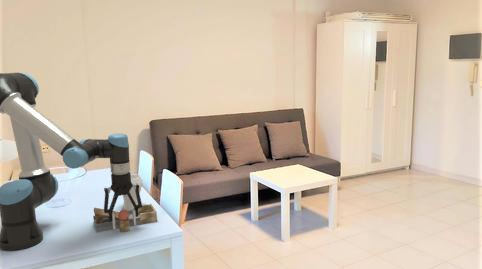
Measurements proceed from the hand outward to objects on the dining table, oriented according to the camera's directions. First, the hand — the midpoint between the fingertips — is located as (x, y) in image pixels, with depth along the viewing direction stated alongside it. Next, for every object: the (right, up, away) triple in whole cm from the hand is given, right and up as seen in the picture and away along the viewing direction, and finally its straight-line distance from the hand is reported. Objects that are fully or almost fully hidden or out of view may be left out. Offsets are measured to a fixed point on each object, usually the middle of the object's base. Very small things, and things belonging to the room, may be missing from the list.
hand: (124, 226), depth 164 cm
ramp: (-7, +1, +6) cm, 9 cm away
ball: (0, +5, -1) cm, 5 cm away
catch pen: (+6, +1, +12) cm, 14 cm away
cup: (-4, +3, +27) cm, 27 cm away
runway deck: (-5, -1, +7) cm, 9 cm away
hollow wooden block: (0, -2, 0) cm, 2 cm away
